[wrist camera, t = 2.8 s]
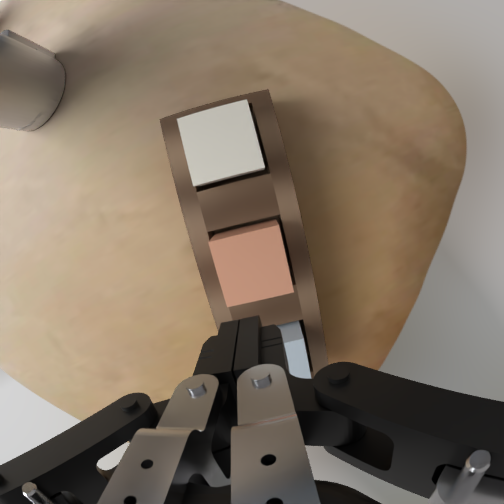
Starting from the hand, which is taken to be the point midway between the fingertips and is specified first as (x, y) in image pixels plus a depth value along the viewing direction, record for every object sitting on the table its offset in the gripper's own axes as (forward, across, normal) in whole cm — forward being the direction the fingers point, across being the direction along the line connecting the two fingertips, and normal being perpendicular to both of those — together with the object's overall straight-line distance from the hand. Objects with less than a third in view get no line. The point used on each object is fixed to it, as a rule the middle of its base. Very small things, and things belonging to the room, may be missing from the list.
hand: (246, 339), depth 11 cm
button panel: (+16, 0, 0) cm, 16 cm away
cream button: (+13, 0, -9) cm, 16 cm away
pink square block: (+13, 0, 0) cm, 13 cm away
